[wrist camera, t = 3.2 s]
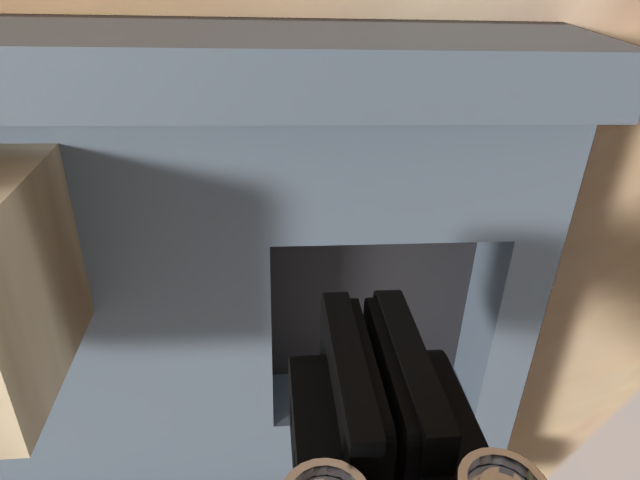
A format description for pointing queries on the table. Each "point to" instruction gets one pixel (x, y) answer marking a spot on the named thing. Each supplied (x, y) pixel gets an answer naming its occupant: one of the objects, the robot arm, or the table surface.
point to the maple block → (36, 291)
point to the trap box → (296, 211)
